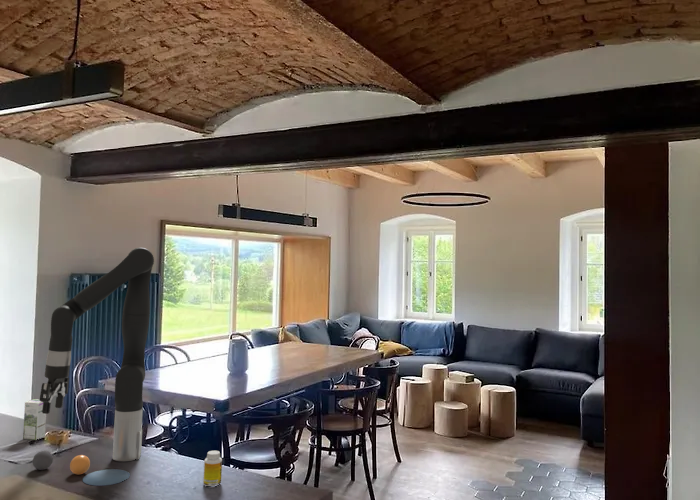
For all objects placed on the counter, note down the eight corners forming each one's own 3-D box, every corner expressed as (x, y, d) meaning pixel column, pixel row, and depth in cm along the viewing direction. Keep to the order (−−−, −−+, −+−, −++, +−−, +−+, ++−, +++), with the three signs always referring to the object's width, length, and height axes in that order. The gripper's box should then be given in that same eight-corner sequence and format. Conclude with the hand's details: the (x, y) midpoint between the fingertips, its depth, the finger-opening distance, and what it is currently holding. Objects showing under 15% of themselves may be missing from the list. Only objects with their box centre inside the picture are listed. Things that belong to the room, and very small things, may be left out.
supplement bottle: (222, 487, 178) (223, 454, 178) (204, 489, 176) (205, 455, 177) (219, 480, 183) (221, 449, 184) (202, 482, 181) (203, 450, 182)
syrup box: (45, 436, 223) (47, 399, 224) (35, 440, 217) (38, 402, 218) (32, 435, 224) (34, 398, 224) (22, 439, 218) (24, 401, 218)
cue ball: (54, 465, 191) (55, 448, 191) (49, 472, 185) (50, 453, 185) (35, 466, 190) (36, 448, 190) (29, 473, 184) (30, 454, 184)
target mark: (132, 468, 191) (132, 468, 191) (126, 484, 177) (126, 483, 177) (87, 470, 188) (87, 470, 188) (78, 486, 174) (78, 486, 174)
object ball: (91, 470, 188) (92, 452, 188) (87, 476, 182) (88, 458, 183) (71, 471, 187) (72, 452, 187) (67, 477, 181) (68, 458, 181)
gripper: (58, 367, 188) (52, 416, 187) (78, 361, 202) (73, 406, 202) (36, 365, 188) (29, 414, 187) (58, 359, 203) (52, 404, 202)
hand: (52, 410), depth 195 cm, fingers open, 8 cm apart
